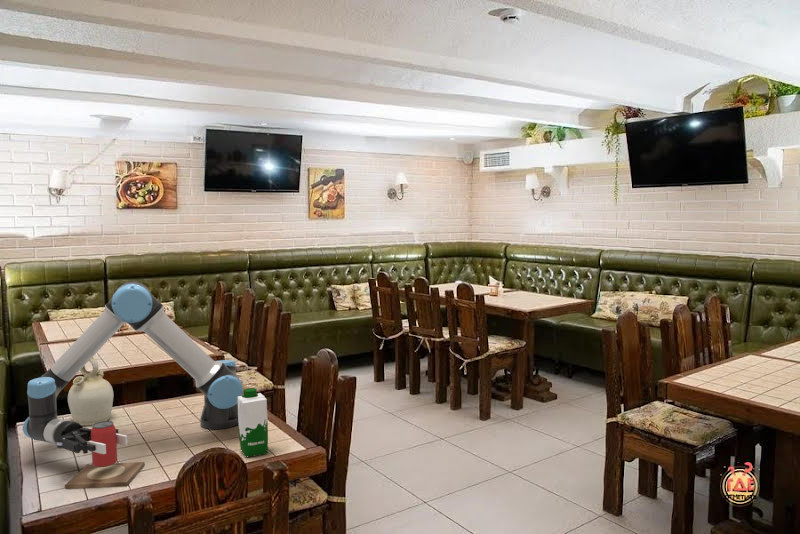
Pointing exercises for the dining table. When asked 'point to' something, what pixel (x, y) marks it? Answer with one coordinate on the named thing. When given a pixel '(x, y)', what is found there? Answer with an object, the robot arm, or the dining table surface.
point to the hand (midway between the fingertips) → (115, 444)
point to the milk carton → (253, 423)
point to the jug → (90, 397)
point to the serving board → (105, 475)
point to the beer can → (105, 435)
